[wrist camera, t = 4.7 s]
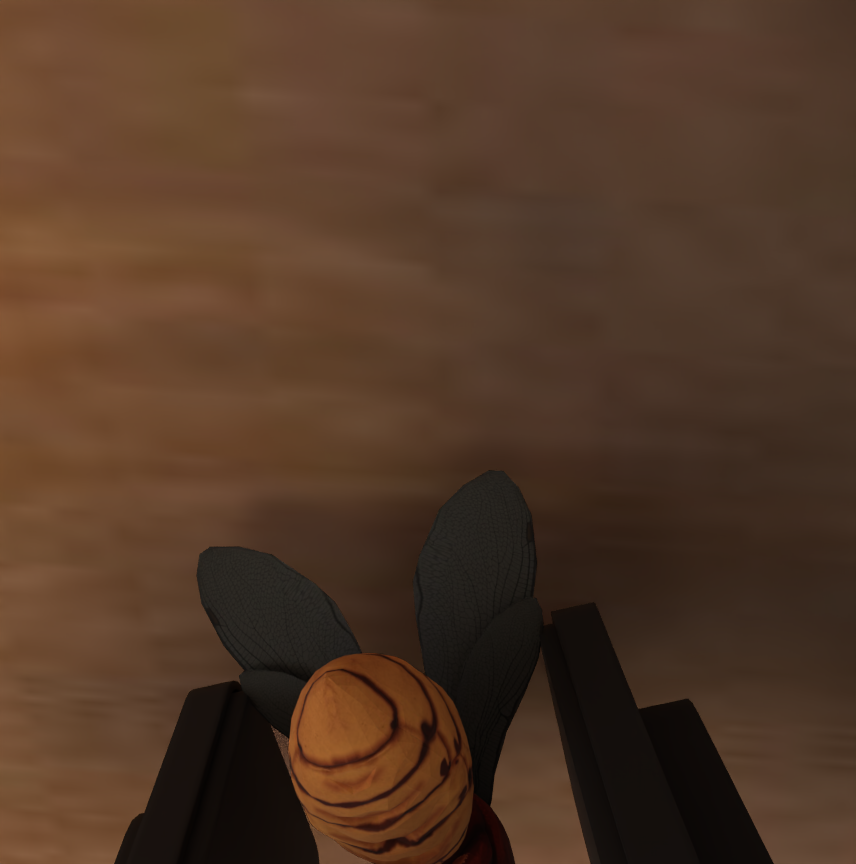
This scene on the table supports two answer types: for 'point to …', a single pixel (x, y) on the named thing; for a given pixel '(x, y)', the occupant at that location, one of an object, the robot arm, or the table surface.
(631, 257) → the table surface
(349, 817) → the insect
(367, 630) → the table surface
